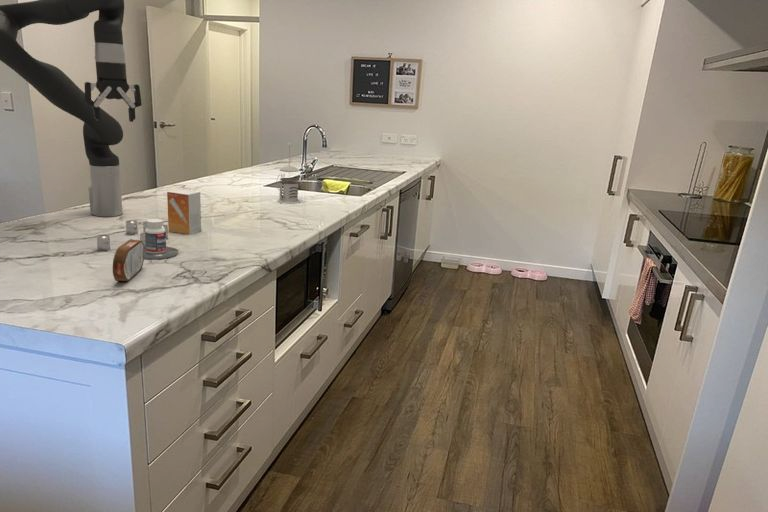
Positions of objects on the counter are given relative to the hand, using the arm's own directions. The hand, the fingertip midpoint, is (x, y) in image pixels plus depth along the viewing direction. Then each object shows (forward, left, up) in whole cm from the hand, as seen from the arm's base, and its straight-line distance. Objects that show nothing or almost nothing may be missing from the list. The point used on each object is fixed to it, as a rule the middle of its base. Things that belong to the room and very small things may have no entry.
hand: (115, 121), depth 158 cm
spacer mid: (+6, +5, -34) cm, 35 cm away
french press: (+30, +74, -34) cm, 87 cm away
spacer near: (+2, -14, -34) cm, 37 cm away
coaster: (+17, -13, -34) cm, 40 cm away
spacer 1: (0, +5, -34) cm, 35 cm away
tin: (+20, -32, -35) cm, 51 cm away
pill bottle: (+17, -13, -34) cm, 40 cm away
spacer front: (+11, +3, -34) cm, 36 cm away
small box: (+13, +13, -35) cm, 39 cm away
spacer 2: (+12, -8, -34) cm, 37 cm away
